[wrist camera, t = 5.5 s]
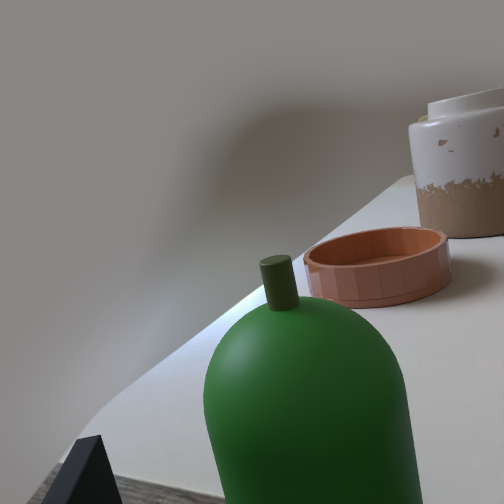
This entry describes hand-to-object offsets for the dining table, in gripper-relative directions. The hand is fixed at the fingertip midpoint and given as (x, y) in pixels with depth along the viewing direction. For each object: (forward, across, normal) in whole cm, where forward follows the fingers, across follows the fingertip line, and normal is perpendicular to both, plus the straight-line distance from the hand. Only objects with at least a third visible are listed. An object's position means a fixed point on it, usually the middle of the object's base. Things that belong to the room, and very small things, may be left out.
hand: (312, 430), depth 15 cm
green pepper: (+1, 0, -7) cm, 7 cm away
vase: (+48, +29, -8) cm, 57 cm away
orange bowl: (+34, +11, -7) cm, 36 cm away
